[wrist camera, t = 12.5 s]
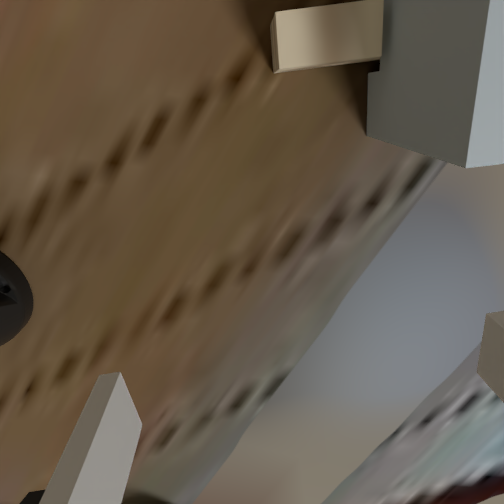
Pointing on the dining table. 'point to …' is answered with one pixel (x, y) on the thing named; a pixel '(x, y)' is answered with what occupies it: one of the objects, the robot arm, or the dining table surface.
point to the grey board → (441, 80)
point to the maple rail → (327, 35)
